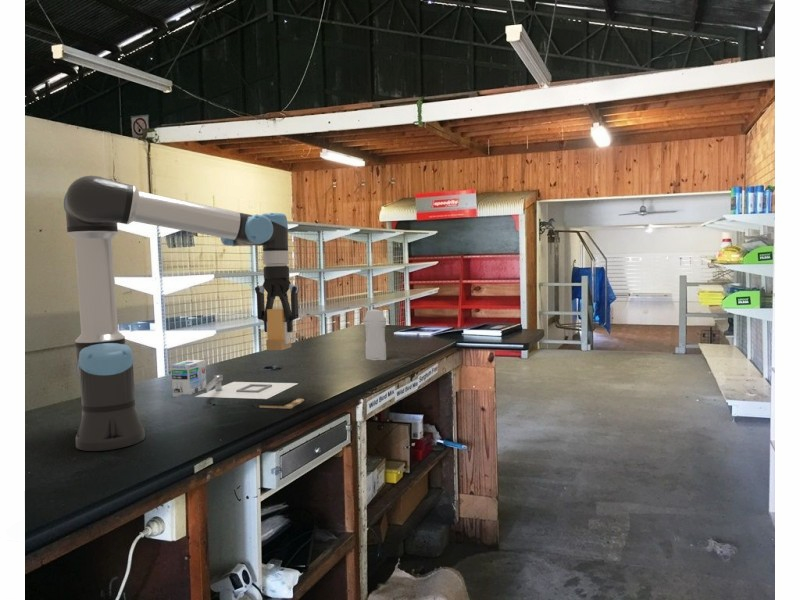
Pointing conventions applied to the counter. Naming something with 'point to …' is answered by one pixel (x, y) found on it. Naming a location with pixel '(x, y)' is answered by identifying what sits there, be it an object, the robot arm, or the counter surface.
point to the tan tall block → (276, 329)
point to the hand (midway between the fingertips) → (279, 342)
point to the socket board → (247, 390)
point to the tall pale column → (375, 335)
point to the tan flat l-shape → (288, 405)
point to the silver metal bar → (212, 383)
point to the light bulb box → (188, 377)
